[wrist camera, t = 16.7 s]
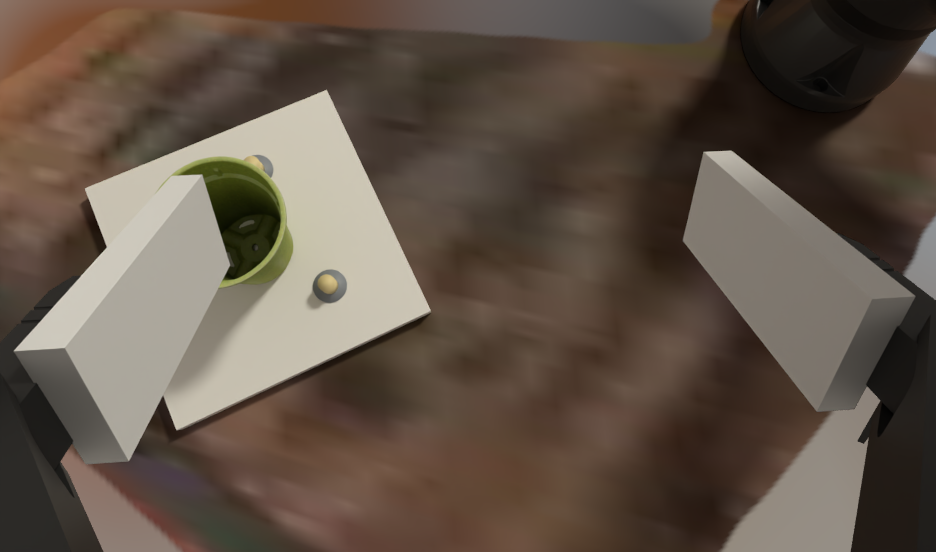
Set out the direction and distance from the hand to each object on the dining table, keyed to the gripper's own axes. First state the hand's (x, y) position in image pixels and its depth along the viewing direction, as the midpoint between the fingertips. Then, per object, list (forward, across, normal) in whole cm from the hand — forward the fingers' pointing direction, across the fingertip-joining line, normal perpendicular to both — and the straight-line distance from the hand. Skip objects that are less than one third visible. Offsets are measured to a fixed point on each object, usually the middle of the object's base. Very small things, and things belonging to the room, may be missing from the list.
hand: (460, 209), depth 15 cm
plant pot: (+28, -16, -17) cm, 36 cm away
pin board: (+28, -16, -18) cm, 37 cm away
